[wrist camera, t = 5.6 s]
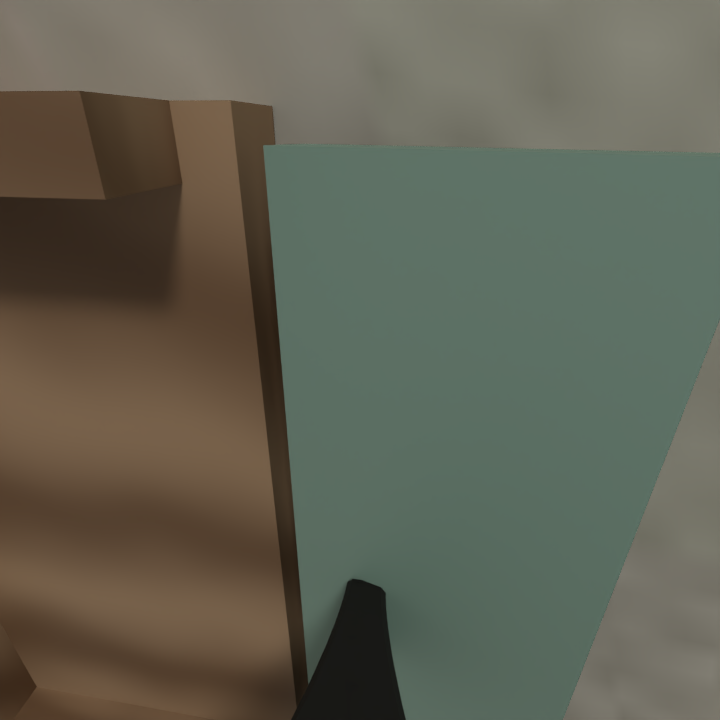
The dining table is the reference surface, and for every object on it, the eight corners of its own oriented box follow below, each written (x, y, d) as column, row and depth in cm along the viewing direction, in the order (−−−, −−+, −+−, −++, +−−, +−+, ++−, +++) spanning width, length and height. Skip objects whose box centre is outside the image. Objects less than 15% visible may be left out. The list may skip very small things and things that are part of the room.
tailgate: (339, 716, 16) (507, 826, 14) (315, 763, 15) (494, 894, 13) (322, 143, 8) (749, 152, 5) (263, 145, 7) (782, 157, 4)
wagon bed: (315, 690, 18) (284, 829, 14) (61, 647, 19) (-23, 764, 16) (272, 106, 9) (159, 90, 5) (-204, 107, 10) (-548, 95, 7)
